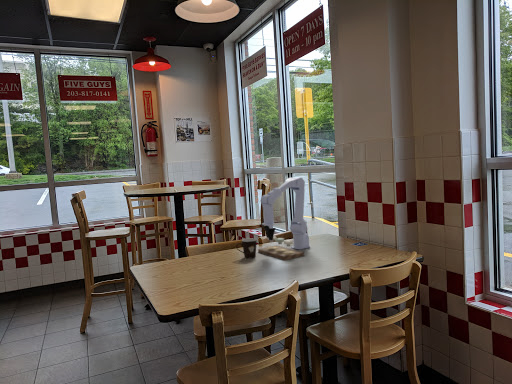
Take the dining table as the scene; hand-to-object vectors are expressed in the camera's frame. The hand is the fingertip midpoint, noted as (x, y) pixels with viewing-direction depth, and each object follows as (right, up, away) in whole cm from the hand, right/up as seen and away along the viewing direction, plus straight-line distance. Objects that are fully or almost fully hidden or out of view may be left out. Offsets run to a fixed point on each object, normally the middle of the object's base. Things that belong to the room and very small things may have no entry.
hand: (269, 238), depth 220 cm
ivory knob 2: (+11, -4, -3) cm, 12 cm away
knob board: (+7, -10, +4) cm, 12 cm away
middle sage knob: (+6, -4, +4) cm, 8 cm away
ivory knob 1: (+2, -3, +10) cm, 11 cm away
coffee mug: (-13, -11, +1) cm, 17 cm away
